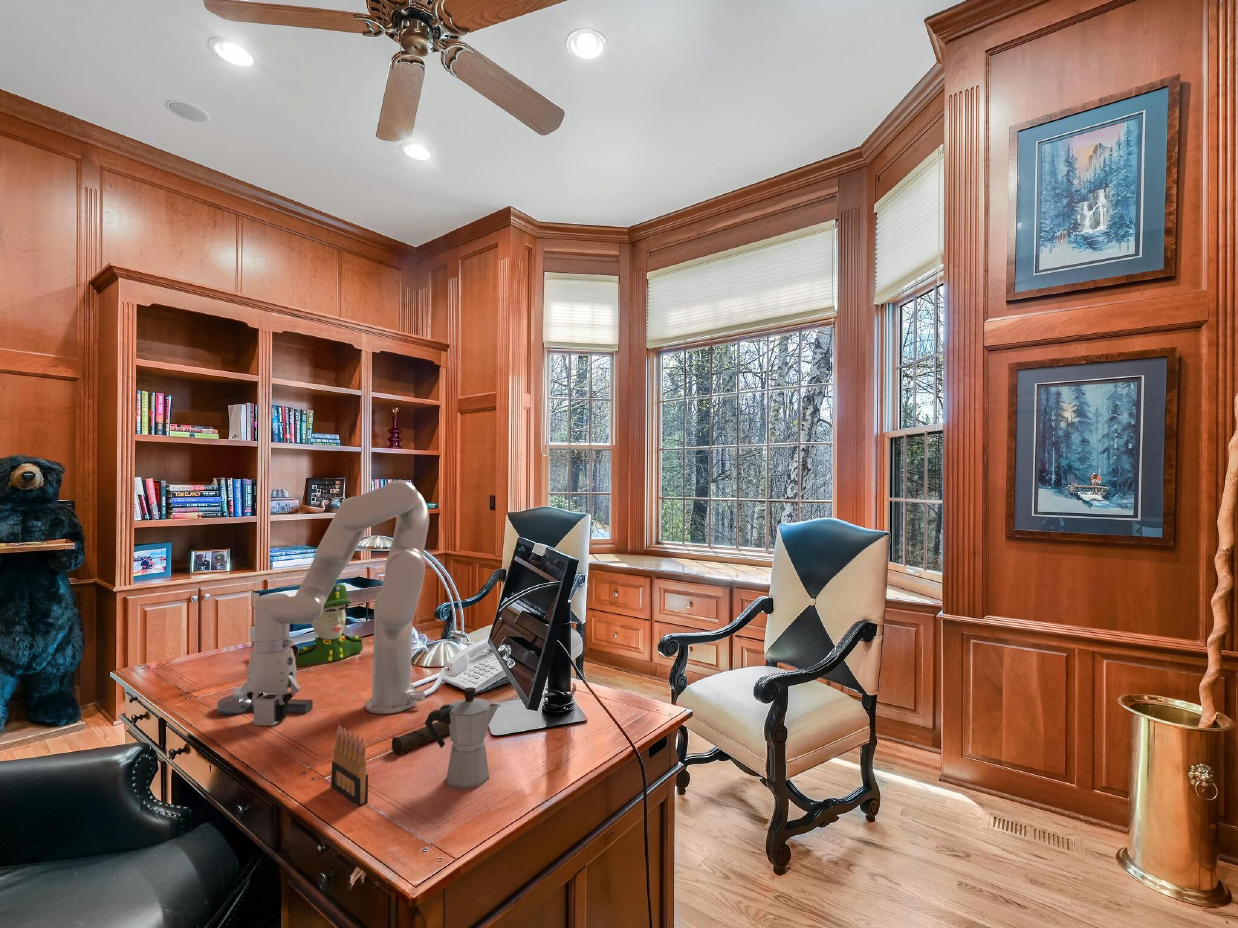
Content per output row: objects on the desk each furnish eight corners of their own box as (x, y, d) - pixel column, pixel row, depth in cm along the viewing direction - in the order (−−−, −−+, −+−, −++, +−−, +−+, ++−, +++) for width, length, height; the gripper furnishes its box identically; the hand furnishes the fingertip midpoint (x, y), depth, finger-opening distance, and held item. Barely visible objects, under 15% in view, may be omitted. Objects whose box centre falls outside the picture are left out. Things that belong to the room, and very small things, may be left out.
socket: (286, 716, 143) (287, 692, 143) (273, 725, 138) (273, 700, 138) (267, 716, 143) (267, 692, 143) (253, 724, 138) (254, 700, 138)
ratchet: (319, 704, 151) (319, 683, 151) (298, 718, 142) (298, 696, 142) (234, 701, 153) (234, 680, 153) (208, 715, 144) (209, 693, 144)
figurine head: (304, 671, 176) (306, 590, 177) (287, 664, 183) (289, 586, 184) (371, 655, 194) (373, 581, 195) (353, 648, 201) (355, 577, 202)
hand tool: (399, 759, 123) (400, 737, 124) (390, 753, 126) (390, 731, 126) (472, 730, 138) (473, 711, 138) (462, 725, 141) (463, 706, 141)
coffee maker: (495, 762, 122) (497, 677, 123) (503, 782, 114) (505, 692, 114) (422, 774, 116) (424, 686, 117) (424, 797, 108) (427, 701, 109)
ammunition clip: (368, 802, 106) (369, 737, 107) (358, 806, 105) (360, 741, 105) (340, 783, 113) (341, 722, 113) (330, 787, 111) (332, 725, 112)
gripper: (313, 641, 144) (312, 713, 144) (249, 639, 145) (248, 711, 145) (295, 650, 137) (294, 726, 136) (227, 648, 137) (226, 724, 137)
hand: (270, 718), depth 140 cm, fingers closed on socket, 5 cm apart
